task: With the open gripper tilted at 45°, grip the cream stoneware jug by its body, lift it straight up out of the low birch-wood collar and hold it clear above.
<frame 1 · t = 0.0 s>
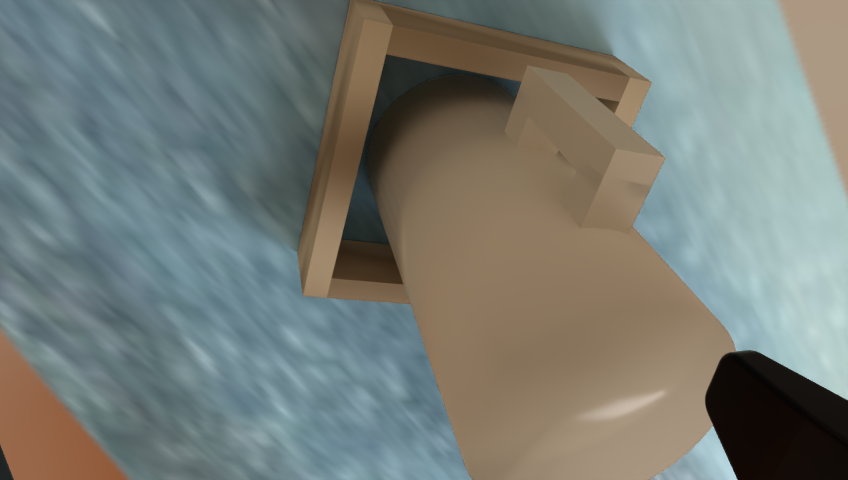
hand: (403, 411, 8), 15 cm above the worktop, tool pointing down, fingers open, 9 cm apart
jug: (517, 225, 18), in the holder
holder: (451, 158, 23), on the worktop
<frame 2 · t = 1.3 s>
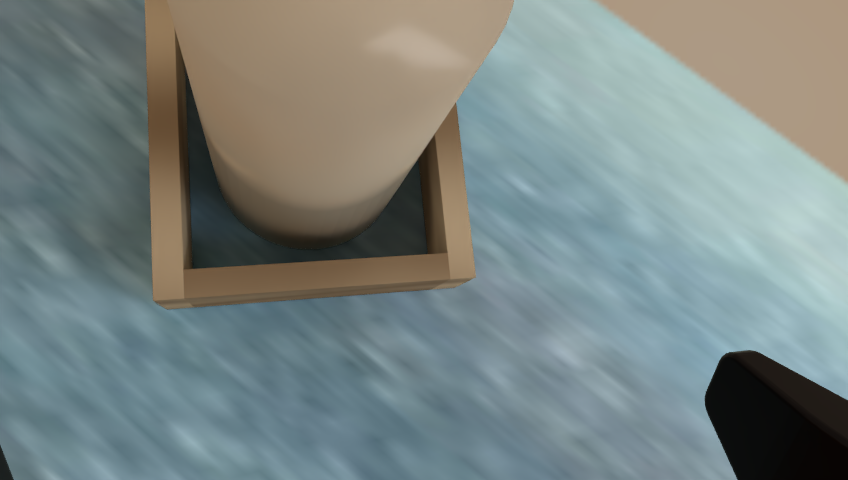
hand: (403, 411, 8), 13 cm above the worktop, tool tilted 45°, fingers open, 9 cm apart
jug: (317, 54, 17), in the holder
holder: (308, 161, 22), on the worktop
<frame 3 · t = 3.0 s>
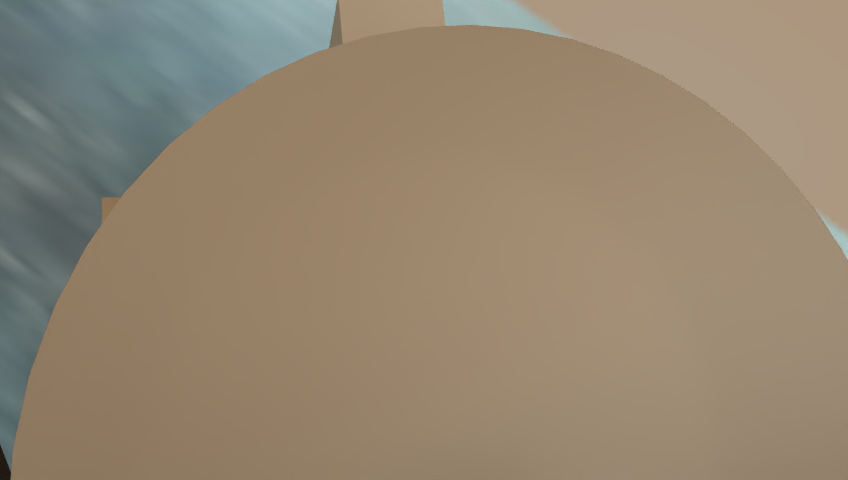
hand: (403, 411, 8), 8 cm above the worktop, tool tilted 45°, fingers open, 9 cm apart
jug: (376, 356, 10), in the holder
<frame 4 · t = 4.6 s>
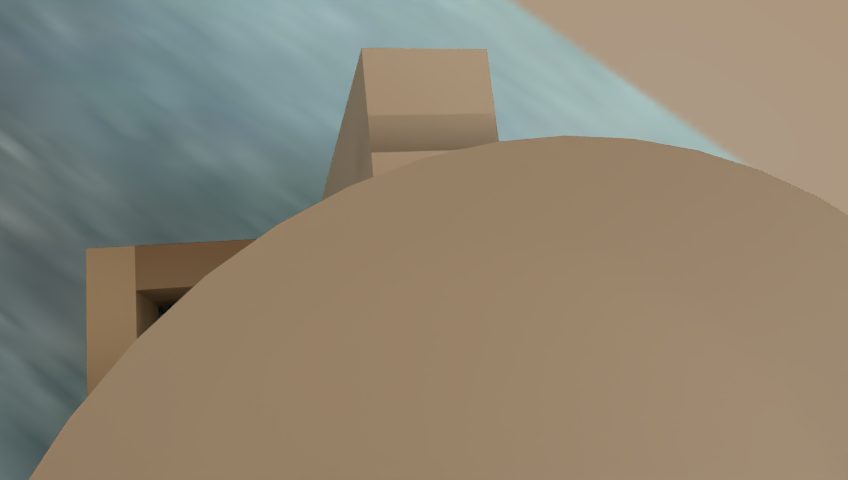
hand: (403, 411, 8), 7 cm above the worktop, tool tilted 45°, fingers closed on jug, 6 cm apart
jug: (397, 449, 9), in the holder, touching gripper
holder: (351, 468, 14), on the worktop
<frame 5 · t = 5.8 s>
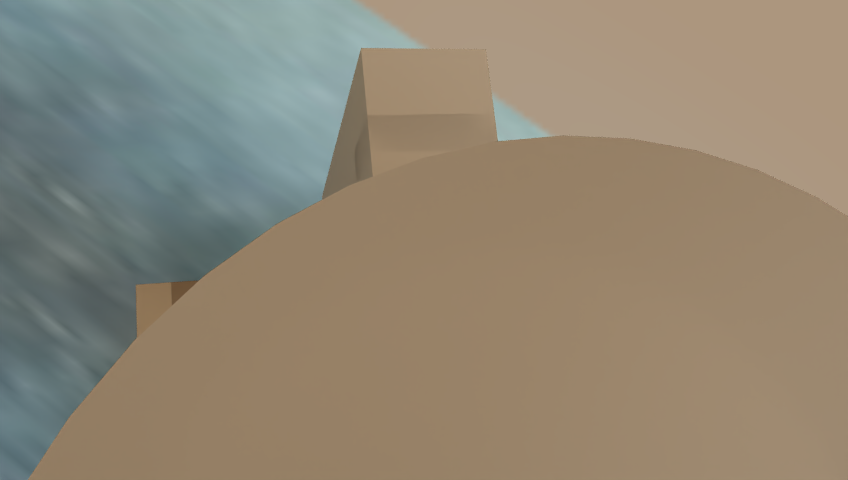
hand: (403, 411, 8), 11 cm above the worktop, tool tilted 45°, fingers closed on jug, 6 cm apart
jug: (397, 448, 9), point 11 cm above the worktop, touching gripper
holder: (332, 448, 19), on the worktop
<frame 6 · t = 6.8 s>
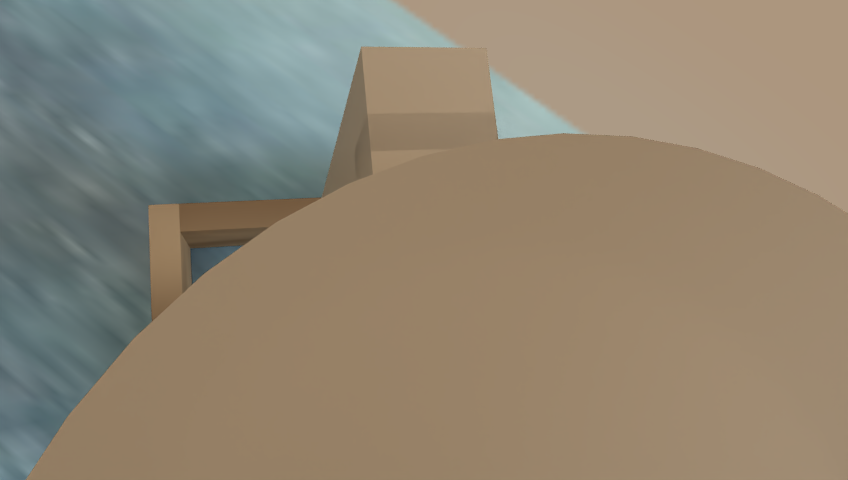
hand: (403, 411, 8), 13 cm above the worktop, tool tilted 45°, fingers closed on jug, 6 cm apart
jug: (397, 448, 9), point 13 cm above the worktop, touching gripper
holder: (321, 358, 21), on the worktop
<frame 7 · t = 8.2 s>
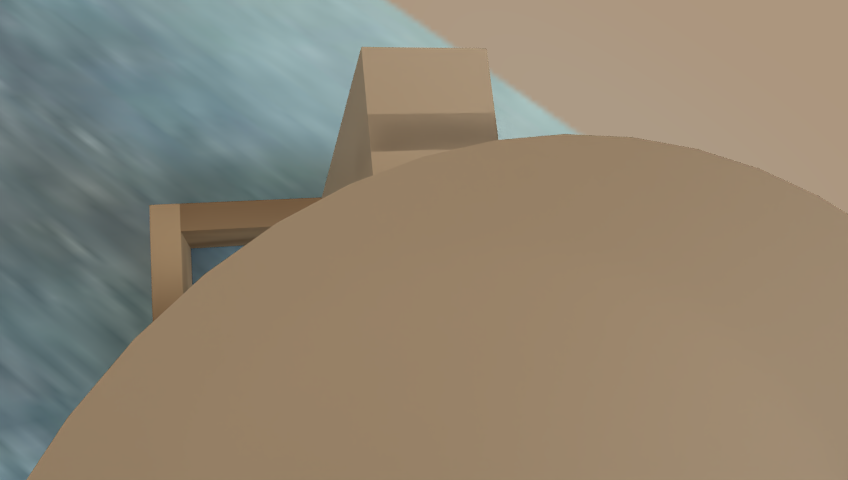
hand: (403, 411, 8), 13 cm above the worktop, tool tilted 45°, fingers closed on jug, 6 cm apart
jug: (397, 448, 9), point 13 cm above the worktop, touching gripper
holder: (320, 357, 21), on the worktop
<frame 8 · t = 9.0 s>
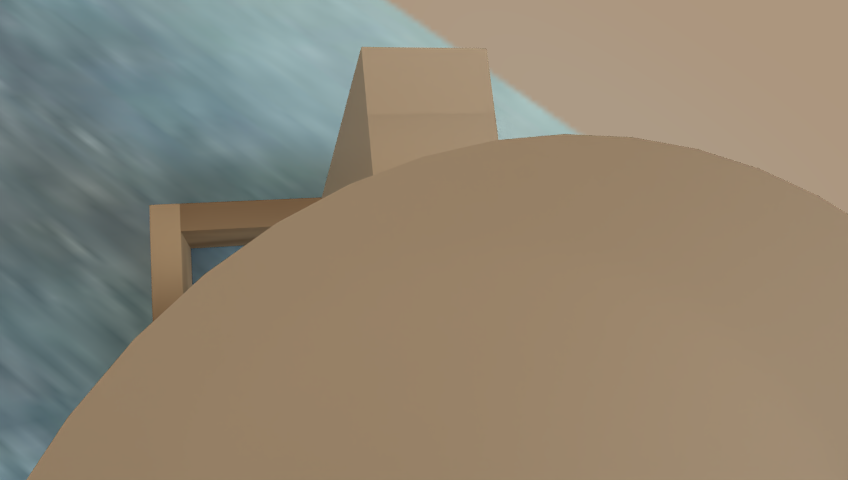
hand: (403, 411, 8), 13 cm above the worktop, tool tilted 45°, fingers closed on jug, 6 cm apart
jug: (397, 448, 9), point 13 cm above the worktop, touching gripper
holder: (320, 357, 21), on the worktop
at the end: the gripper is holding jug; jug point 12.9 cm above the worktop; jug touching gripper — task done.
